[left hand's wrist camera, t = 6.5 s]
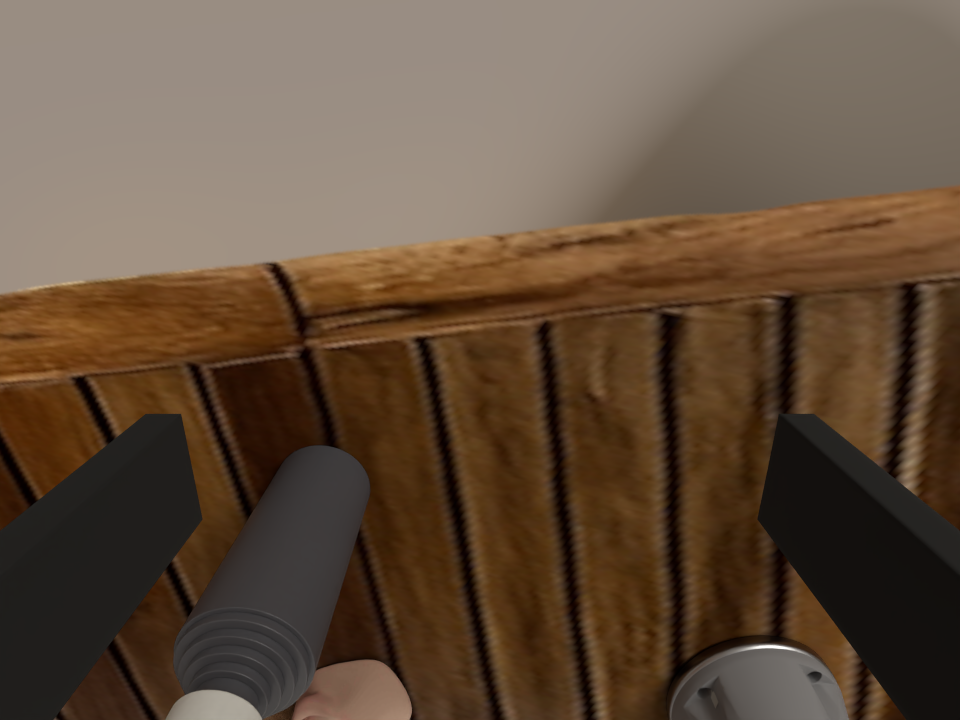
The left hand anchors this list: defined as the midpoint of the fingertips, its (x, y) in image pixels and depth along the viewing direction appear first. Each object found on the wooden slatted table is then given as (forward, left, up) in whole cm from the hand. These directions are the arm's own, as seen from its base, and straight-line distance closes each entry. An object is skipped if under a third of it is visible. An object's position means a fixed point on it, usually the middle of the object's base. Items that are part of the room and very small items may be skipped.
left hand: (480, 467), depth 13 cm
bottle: (-16, +16, -28) cm, 36 cm away
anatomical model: (-40, +21, -28) cm, 53 cm away
